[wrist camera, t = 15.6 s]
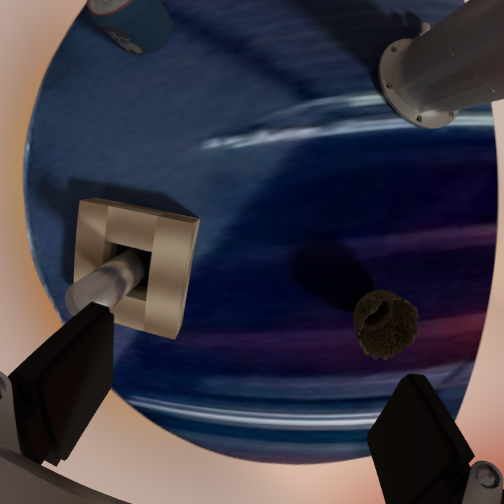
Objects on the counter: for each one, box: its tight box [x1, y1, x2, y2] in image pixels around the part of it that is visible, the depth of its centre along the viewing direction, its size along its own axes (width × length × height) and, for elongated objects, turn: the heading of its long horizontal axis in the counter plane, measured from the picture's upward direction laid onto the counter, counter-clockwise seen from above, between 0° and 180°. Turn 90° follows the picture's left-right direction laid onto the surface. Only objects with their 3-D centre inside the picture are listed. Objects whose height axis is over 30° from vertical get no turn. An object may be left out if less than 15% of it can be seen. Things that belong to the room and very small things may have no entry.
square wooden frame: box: [74, 197, 200, 339], centre depth 36 cm, size 14×14×4 cm
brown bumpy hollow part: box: [353, 290, 419, 360], centre depth 35 cm, size 8×7×8 cm
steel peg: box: [65, 247, 151, 317], centre depth 31 cm, size 4×4×14 cm
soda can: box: [87, 0, 173, 55], centre depth 25 cm, size 7×7×12 cm
